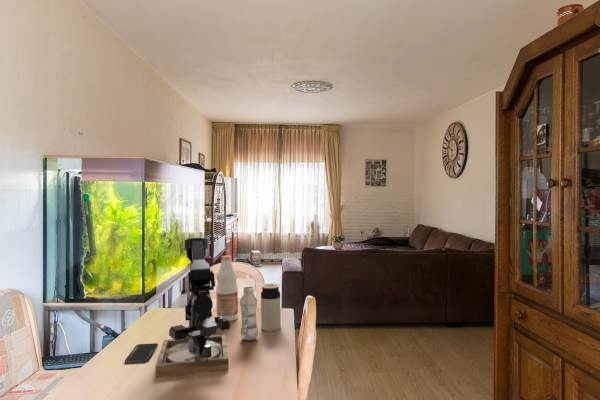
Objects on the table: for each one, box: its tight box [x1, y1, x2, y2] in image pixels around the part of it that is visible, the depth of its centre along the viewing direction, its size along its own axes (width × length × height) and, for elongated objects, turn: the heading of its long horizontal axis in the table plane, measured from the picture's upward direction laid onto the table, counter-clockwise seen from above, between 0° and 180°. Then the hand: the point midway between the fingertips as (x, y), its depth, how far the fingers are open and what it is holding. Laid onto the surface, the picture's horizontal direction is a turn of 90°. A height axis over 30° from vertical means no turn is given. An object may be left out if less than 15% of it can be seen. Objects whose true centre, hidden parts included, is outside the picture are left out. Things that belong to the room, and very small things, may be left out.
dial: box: [166, 339, 221, 363], centre depth 135 cm, size 18×18×5 cm
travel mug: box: [260, 282, 282, 332], centre depth 164 cm, size 8×8×18 cm
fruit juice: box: [215, 255, 239, 322], centre depth 177 cm, size 9×9×28 cm
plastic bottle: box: [239, 286, 259, 341], centre depth 152 cm, size 6×7×20 cm
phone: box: [124, 342, 159, 365], centre depth 139 cm, size 8×1×15 cm
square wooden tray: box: [155, 334, 230, 378], centre depth 135 cm, size 22×22×4 cm
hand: (200, 354), depth 128 cm, fingers closed
